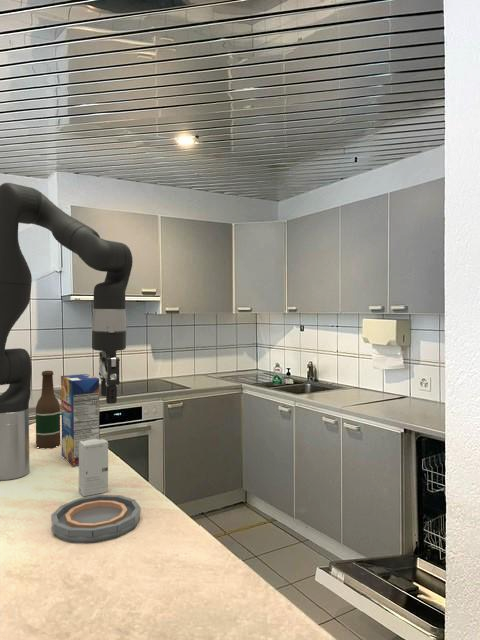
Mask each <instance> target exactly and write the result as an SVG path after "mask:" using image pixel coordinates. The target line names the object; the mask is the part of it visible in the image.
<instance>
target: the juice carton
mask: <svg viewBox="0 0 480 640" xmlns="http://www.w3.org/2000/svg"><path fill="white" fill-rule="evenodd" d="M60 387H61V388H60V391H61V392H60V395H61V396H60V400H61V401H60V404H61V406H60V419H61V457H62V456H63V457H64V458H63V457H62V458H63V459H64V460H65V459H66V460H67V461H68V462H69V463H70V464H71V467H73V468H75V467H76V466H77V467H79V441H86V440H93V439H101V438H100V437H101V436H100V434H101V433H100V426H101V425H100V377H96V376H94V375H90V374H88V373H84V374H83V373H82V374H81V373H80V374H71V375H61V376H60ZM66 460H65V461H66ZM67 461H66V462H67ZM68 462H67V463H68ZM69 463H68V464H69ZM70 464H69V465H70Z"/></svg>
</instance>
